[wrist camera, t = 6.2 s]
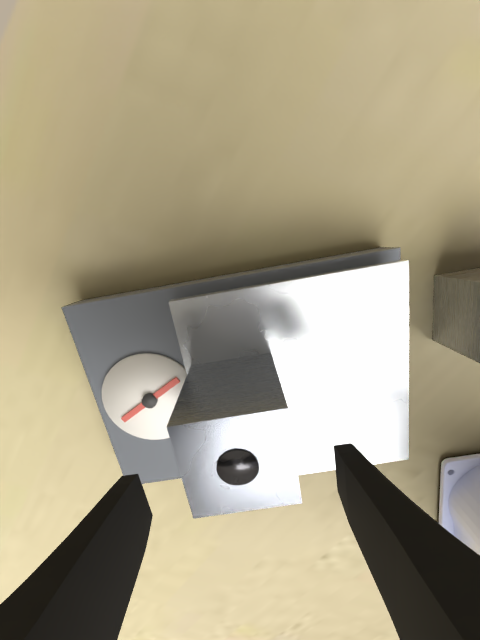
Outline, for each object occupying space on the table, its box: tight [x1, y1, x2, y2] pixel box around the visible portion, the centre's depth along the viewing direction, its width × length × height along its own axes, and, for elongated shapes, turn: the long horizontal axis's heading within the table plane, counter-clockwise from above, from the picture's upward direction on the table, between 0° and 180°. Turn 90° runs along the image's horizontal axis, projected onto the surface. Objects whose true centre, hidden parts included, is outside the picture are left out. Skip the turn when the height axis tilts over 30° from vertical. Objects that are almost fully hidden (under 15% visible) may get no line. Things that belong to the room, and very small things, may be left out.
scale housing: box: [62, 247, 400, 484], centre depth 17 cm, size 13×19×2 cm
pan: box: [169, 260, 409, 475], centre depth 16 cm, size 12×12×3 cm
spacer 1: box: [167, 353, 302, 518], centre depth 12 cm, size 4×4×5 cm
